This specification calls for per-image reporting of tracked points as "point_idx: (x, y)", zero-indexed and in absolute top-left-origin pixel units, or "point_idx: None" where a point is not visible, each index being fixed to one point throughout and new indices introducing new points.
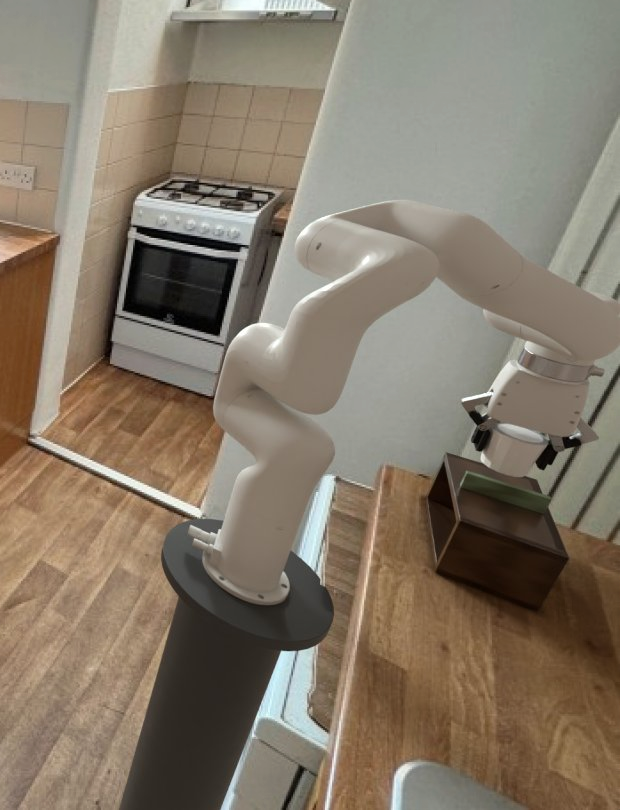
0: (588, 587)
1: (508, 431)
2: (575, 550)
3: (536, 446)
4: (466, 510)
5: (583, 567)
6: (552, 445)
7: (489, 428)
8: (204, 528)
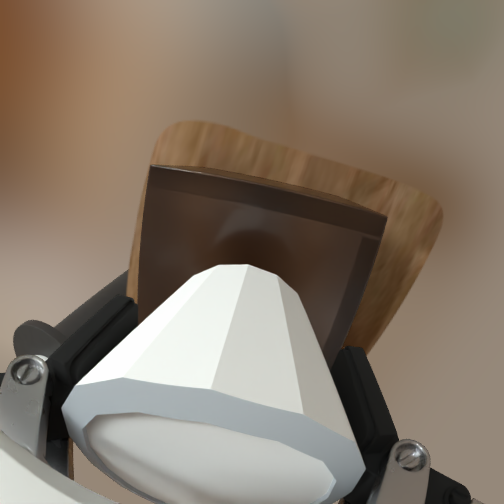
0: (378, 313)
1: (144, 478)
2: (413, 220)
3: None
4: None
5: (400, 265)
6: (343, 499)
7: (72, 449)
8: (22, 340)
